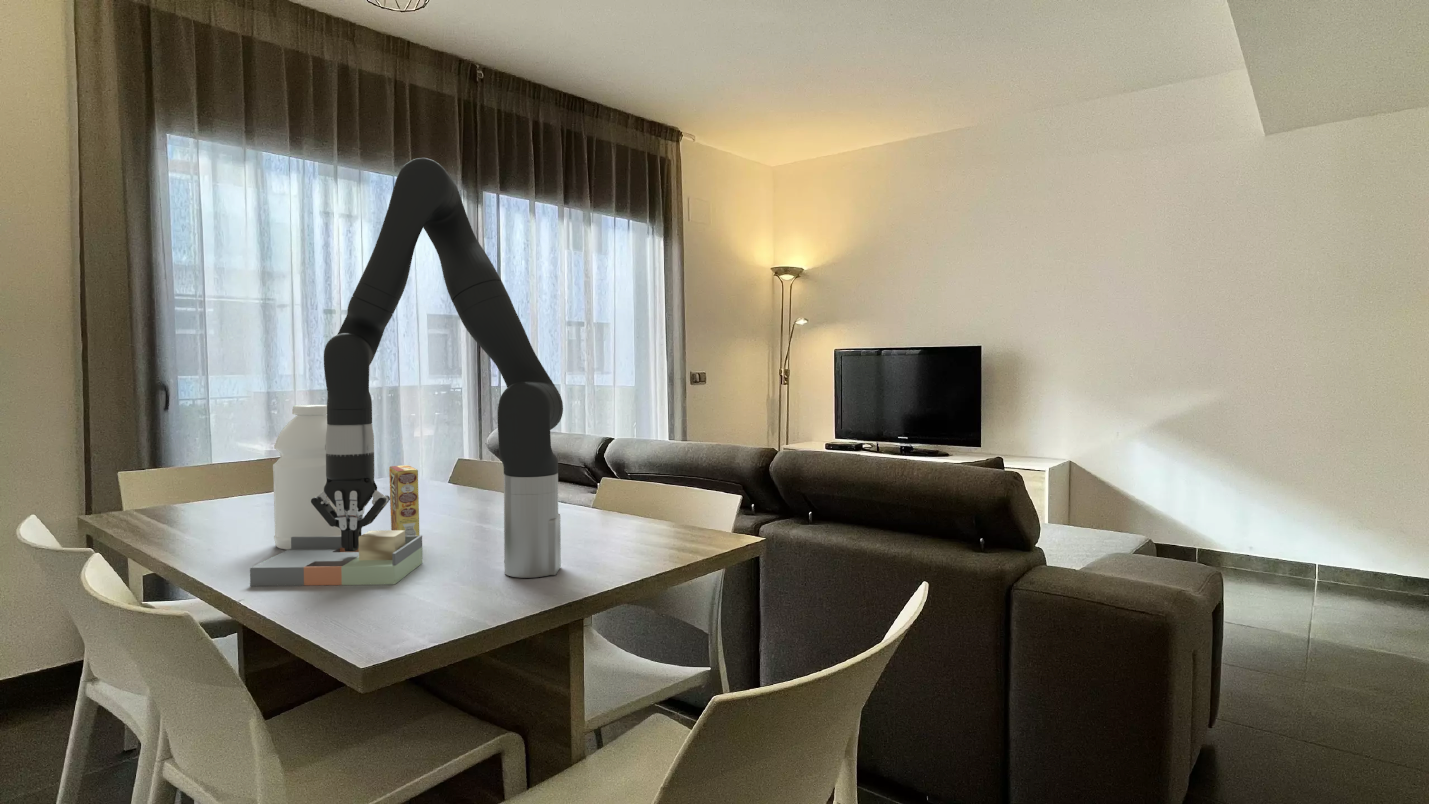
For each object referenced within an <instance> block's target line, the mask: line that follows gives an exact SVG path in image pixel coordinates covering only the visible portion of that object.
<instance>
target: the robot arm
mask: <svg viewBox="0 0 1429 804" xmlns="http://www.w3.org/2000/svg"><path fill="white" fill-rule="evenodd" d="M422 230H425V232H426V234H427V236H428V239H430V241H431V243H432V245H433V246H434V249H435V251H436V253H437V255H438V258H439V262H440V267H441V271H442V275H443V279H444V283H445V287H446V290H447V292H448V296H449V298H450V300H451V302H452V304H453V306H454V308H455V310H456V312H457V314H458V316H459V319H460V320H461V323H462V324H463V326H464V328H465V329H466V331H467V332H468V334H469V335H470V336H471V337H472V338H473V340H474V342H475V343H477V344H478V346H479V347H480V348H481V349H482V350H483V351H484V353H486V355H487V356H488V357H489V358H490V359H491V360H492V362H493V363H494V365H495V367H496V368H497V370H498V371H499V373H500V375H501V377H502V379H503V381H504V383H505V386H506V388H505V389H504V391H502V393H501V395H500V398H499V400H498V405H497V434H498V435H497V438H498V439H497V440H498V453H499V459H500V460H501V462H502V466H503V526H504V527H503V528H504V529H503V536H504V537H503V539H504V540H503V547H504V548H503V549H504V552H503V553H504V558H503V559H504V560H503V565H504V574H505V575H507V576H508V577H509V576H510V577H512V578H522V579H523V578H524V579H527V578H539V577H540V578H541V577H547V576H556V575H557V574H558V571H559V570H560V569H561V563H562V560H561V551H562V550H561V549H562V547H561V546H562V545H561V530H562V529H561V528H562V527H561V513H559V460H558V457H557V456H556V455H555V453H554V452H553V449H552V442H551V441H552V440H551V439H552V438H551V430H552V429H555V428H556V427H557V426H558V424H559V423H560V422H561V420H562V418H563V414H564V405H563V404H564V403H563V399H562V397H561V394H560V392H559V390H558V388H557V387H556V385H555V384H554V382H553V381H552V379H551V378H550V376H549V374H548V373H547V371H546V369H545V368H544V366H543V364H542V363H541V361H540V359H539V358H538V355H536V352H535V350H534V348H533V346H532V344H531V342H530V340H529V337H528V336H527V332H526V330H525V329H524V326H523V324H522V322H521V320H520V319H521V318H520V316H519V315H518V313H517V312H516V309H515V306H514V303H513V302H512V299H511V297H510V295H509V293H508V291H507V289H506V287H505V284H504V283H503V281H502V279H501V277H500V275H499V273H498V272H497V270H496V268H495V266H494V265H493V262H492V261H491V260H490V258H489V256H488V254H487V253H486V251H485V249H484V248H483V247H482V245H481V243H480V242H479V241H478V239H477V237H476V235H475V232H474V231H473V228H472V226H471V223H470V220H469V218H468V215H467V212H466V209H465V206H464V203H463V201H462V198H461V194H460V191H459V189H458V186H457V184H456V183H455V181H454V180H453V178H452V177H451V175H450V174H449V173H448V171H447V170H446V169H445V168H444V166H442V165H441V164H440V163H438V162H437V161H435V160H433V159H430V158H427V157H417V158H414V159H412V160H410V161H408V162H406V163H405V164H403V166H401V168H400V169H399V172H398V174H397V177H396V179H395V183H394V185H393V188H392V193H391V197H390V200H389V204H388V208H387V210H386V214H385V217H384V219H383V222H382V226H381V228H380V232H379V235H378V237H377V241H376V243H375V245H374V248H373V251H372V253H371V255H370V257H369V259H368V262H367V264H366V266H365V269H364V271H363V273H362V274H361V277H360V279H359V280H358V283H357V285H356V287H355V289H354V291H353V293H352V296H351V298H350V300H349V302H348V306H347V309H346V310H347V311H346V316H345V318H344V320H343V322H342V324H341V326H340V328H339V330H338V332H337V334H336V335H334V336H332V337H331V338H330V339H329V340H328V342H327V343H326V345H325V347H324V350H323V369H324V379H325V385H326V392H327V399H326V405H327V414H326V415H327V424H328V425H327V431H326V444H325V450H326V479H327V482H326V485H325V486H324V492H322V493H321V494H320V495H318V496H317V497H314V498H312V499H311V503H312V504H313V506H314V507H315V508H316V509H317V511H318V512H319V513H320V514H321V515H322V517H323V518H324V519H325V520H326V521H327V523H328V524H329V525H330V526H332V527H333V526H335V527H338V528H340V529H341V545H342V548H345V551H356V550H357V549H358V547H359V536H361V535H362V528H364V527H367V526H369V525H370V524H372V523H373V522H374V520H375V519H377V517H378V516H379V514H380V513H381V512H382V510H383V509H384V508H385V507H386V506H387V504H388V503H390V495H387V494H386V495H384V494H382V493H381V492H380V491H379V490H378V485H377V484H376V482H375V435H374V428H373V401H372V395H371V393H370V365H371V364H372V362H373V360H374V357H375V356H376V354H377V351H378V349H379V346H380V343H381V340H382V338H383V335H384V332H385V329H386V328H387V326H388V324H389V323H390V321H391V319H392V317H393V314H394V313H395V311H396V310H397V307H398V305H399V302H400V300H401V298H402V296H403V294H404V291H405V289H406V286H407V283H408V278H409V274H410V270H411V266H412V265H411V264H412V260H413V255H414V252H415V248H416V245H417V242H418V239H419V237H420V236H421V233H422ZM329 499H330V500H331V502H332V503H333V504H334V506H335V507H336V508H337V512H336V511H335V510H334V509H333V507H332V506H331V505H330V504H329V503H330V500H329ZM371 499H372V500H371ZM370 501H371V504H372V506H371V508H369V510H368V511H367V512H366V514H365V510H366V509H365V508H366V506H367V505H368V503H369V502H370Z"/></svg>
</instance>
